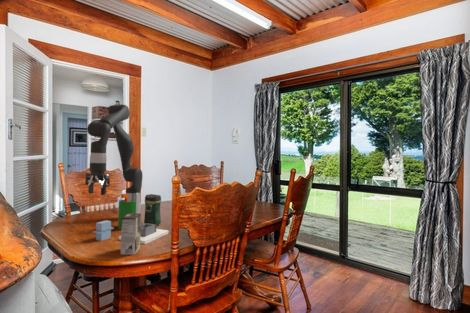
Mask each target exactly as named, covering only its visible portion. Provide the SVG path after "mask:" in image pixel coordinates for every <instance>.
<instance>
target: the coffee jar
mask: <svg viewBox="0 0 470 313" xmlns="http://www.w3.org/2000/svg"><path fill="white" fill-rule="evenodd" d="M161 203H162V196H161V195H160V194H153V193H150V194H146V195H145V196H144V207H145V208H144V217H143V218H144V219H143V221H144V222H143V224H144V223H148V224H156V227H157V226H160V225H161Z"/></svg>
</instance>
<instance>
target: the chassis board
mask: <svg viewBox="0 0 470 313" xmlns="http://www.w3.org/2000/svg"><path fill="white" fill-rule="evenodd" d="M167 235H169V230H167V229H162V228H161V229H160V228H157V226H156V224H148V223H144V222H143V223H141V234H140V245H141V244H142V245H146V244H148V243H151V242H154V241H156V240H158V239H161V237H163V236H167ZM118 240H119V241H121V235H120V236H118Z"/></svg>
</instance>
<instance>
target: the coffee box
mask: <svg viewBox="0 0 470 313" xmlns="http://www.w3.org/2000/svg"><path fill="white" fill-rule="evenodd" d="M141 225H142V213H141V214H137V213H127V214H126V215H125V216H123V217H122V223H121V229H120V233H121V234H120V236H121V240H120V255H136V253H138V251H139V250H140V249H141V243H140V234H141Z"/></svg>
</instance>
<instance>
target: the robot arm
mask: <svg viewBox="0 0 470 313" xmlns="http://www.w3.org/2000/svg"><path fill="white" fill-rule="evenodd" d="M107 111H108V114H106V115H105V116H103V117H102V118H100V119H97V120H93V121H91V122H89V124H88V125H87V127H86V129H87V131H86V132H87V133H88V135H90V136H91V137H100V138H99V139H98V140H94V141H91V143H90V155H89V172H87V173H86V174H85V182H84V183H85V186H87V187H88V191H87V192H88V194H89V195H93V194H94V187H95V186H94V185H95V184H96V183H97V184H99V186H100V195H101V196H105V195H107V187H109V186H110V180H111V178H110V176H111V175H110V173H105V172H106V171H107V145H108V140H109V138H110V135H111V132H112V129H113V132H114V137H115V141H116V146H117V149H118V153H119V157H120V162H121V168H122V177H123V179H124V181H126V182H127V183H132V185H130V186H129V187H126V188H125V194H127V195H128V200H129V202H133V201H136V213H137V214H141V215H142V203H141V192H142V191H141V190H142V187H143V171H142V169H140V168H137V167H136V168H135V167H134V168H133V167H132V164H131V159H132V156H133V153H134V151H135V146H134V142H133V138H132V137H131V136H130V135H129V134H128V133H127V132H126V131H125V129H124V128H123V127H122V126H121V122H123V121H126V120H128V119H129V118H130V113H131V112H130V108H129V106H128V105H127V104H116V105H115V104H113V105H109V106H108V110H107Z"/></svg>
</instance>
